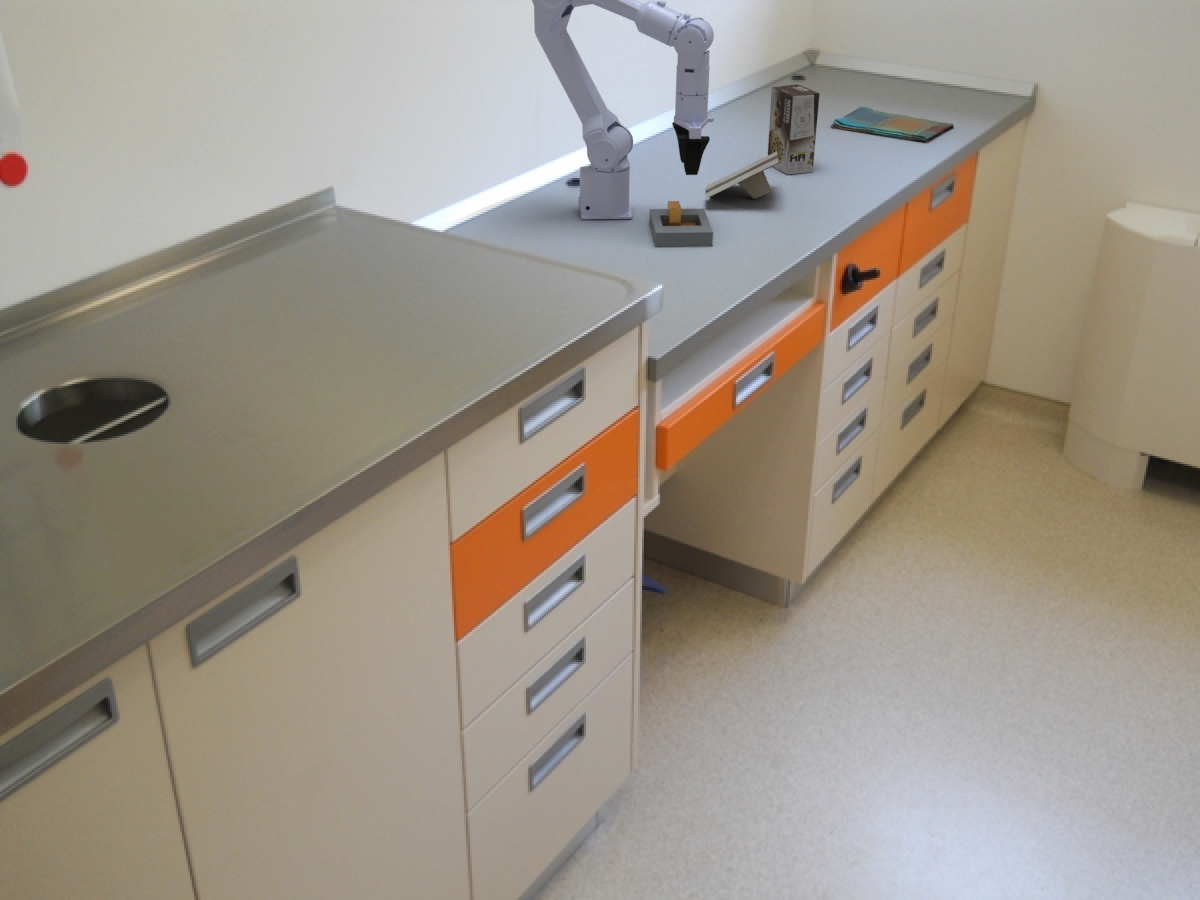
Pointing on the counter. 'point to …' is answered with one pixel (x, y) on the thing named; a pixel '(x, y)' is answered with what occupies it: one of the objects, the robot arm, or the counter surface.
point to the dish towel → (891, 125)
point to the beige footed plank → (747, 178)
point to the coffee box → (793, 127)
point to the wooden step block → (676, 215)
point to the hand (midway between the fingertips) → (689, 168)
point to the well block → (681, 229)
